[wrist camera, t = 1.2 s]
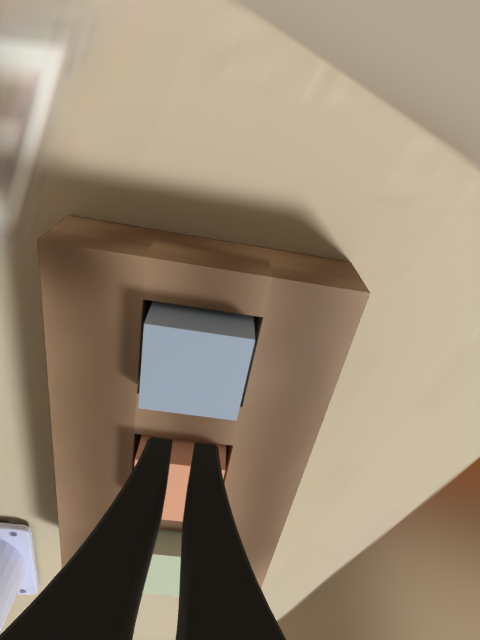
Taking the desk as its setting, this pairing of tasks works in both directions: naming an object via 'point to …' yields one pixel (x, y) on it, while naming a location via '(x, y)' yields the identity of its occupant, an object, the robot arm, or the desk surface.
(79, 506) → the button panel
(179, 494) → the terracotta button
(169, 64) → the desk surface
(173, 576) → the sage button
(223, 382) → the slate button
